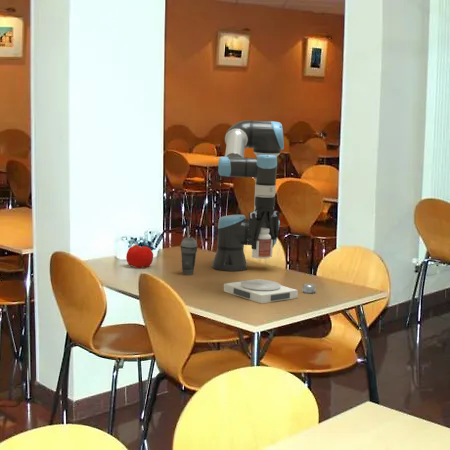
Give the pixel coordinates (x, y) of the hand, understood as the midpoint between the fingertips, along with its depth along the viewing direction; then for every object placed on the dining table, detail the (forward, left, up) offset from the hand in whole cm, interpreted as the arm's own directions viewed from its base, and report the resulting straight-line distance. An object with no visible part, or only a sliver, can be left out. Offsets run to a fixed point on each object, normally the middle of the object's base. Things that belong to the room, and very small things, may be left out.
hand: (262, 256), depth 311 cm
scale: (0, 0, -15) cm, 15 cm away
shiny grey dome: (+6, +20, -15) cm, 26 cm away
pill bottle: (0, 0, -1) cm, 1 cm away
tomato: (-66, -12, -15) cm, 69 cm away
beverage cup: (-44, -2, -15) cm, 46 cm away
